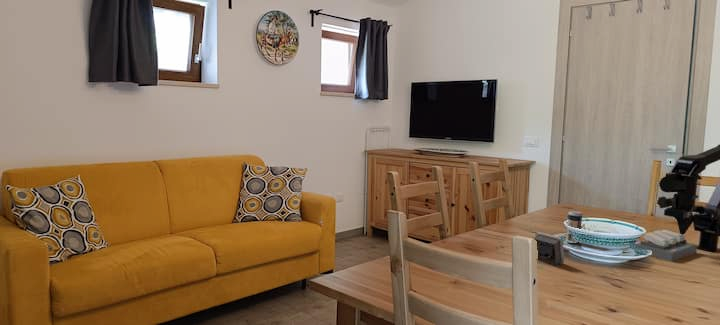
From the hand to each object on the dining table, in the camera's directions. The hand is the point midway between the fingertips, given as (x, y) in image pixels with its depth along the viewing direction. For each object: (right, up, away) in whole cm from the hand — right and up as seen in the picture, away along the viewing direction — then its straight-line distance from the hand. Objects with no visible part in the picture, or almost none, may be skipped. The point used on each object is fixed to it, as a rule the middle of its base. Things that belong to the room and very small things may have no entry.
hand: (682, 234), depth 175 cm
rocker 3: (-2, -1, +3) cm, 4 cm away
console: (-6, -7, -1) cm, 9 cm away
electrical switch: (-55, -7, -16) cm, 58 cm away
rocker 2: (-7, -2, 0) cm, 7 cm away
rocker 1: (-12, -2, -4) cm, 13 cm away
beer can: (-37, -5, +8) cm, 38 cm away
